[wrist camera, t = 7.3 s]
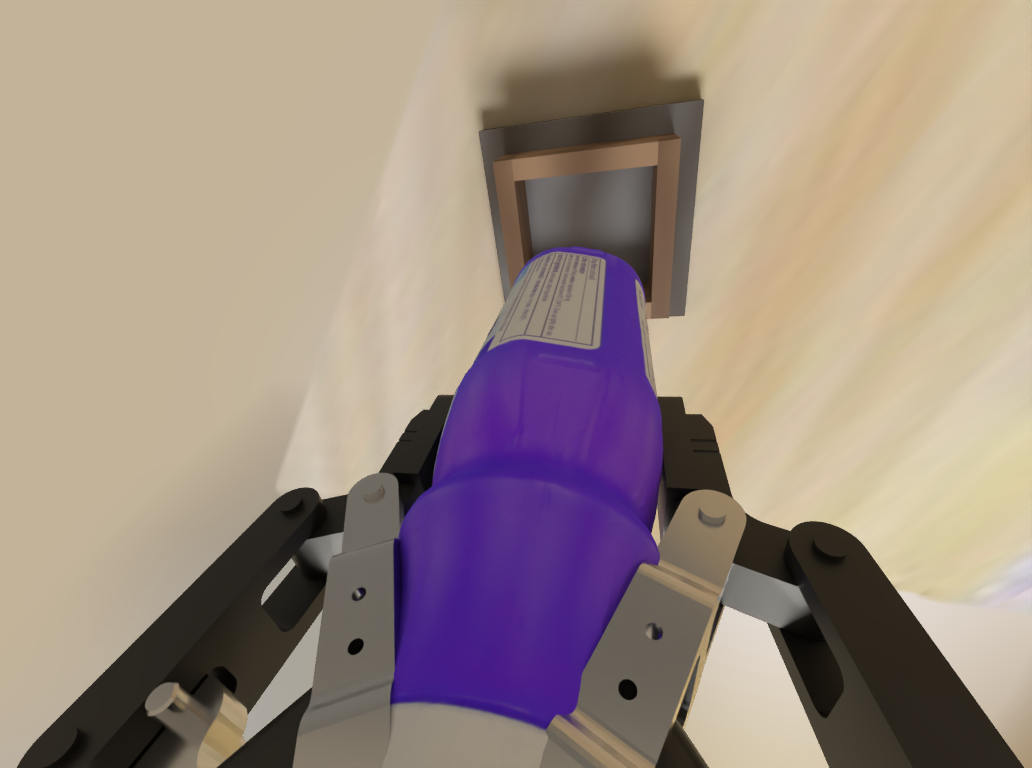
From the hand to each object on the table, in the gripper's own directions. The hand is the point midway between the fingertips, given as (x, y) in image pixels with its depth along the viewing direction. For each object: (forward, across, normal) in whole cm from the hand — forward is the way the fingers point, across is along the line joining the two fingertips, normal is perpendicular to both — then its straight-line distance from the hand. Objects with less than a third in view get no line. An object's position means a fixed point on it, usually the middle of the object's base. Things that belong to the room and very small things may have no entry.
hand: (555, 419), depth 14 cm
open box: (+23, 0, 0) cm, 23 cm away
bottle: (+8, 0, 0) cm, 8 cm away
